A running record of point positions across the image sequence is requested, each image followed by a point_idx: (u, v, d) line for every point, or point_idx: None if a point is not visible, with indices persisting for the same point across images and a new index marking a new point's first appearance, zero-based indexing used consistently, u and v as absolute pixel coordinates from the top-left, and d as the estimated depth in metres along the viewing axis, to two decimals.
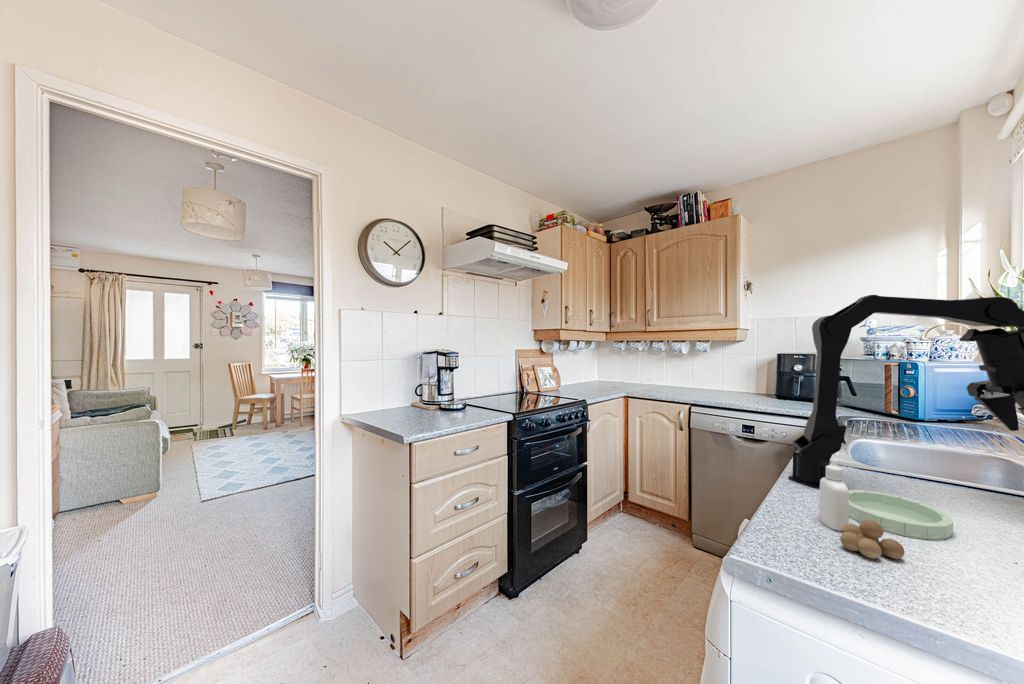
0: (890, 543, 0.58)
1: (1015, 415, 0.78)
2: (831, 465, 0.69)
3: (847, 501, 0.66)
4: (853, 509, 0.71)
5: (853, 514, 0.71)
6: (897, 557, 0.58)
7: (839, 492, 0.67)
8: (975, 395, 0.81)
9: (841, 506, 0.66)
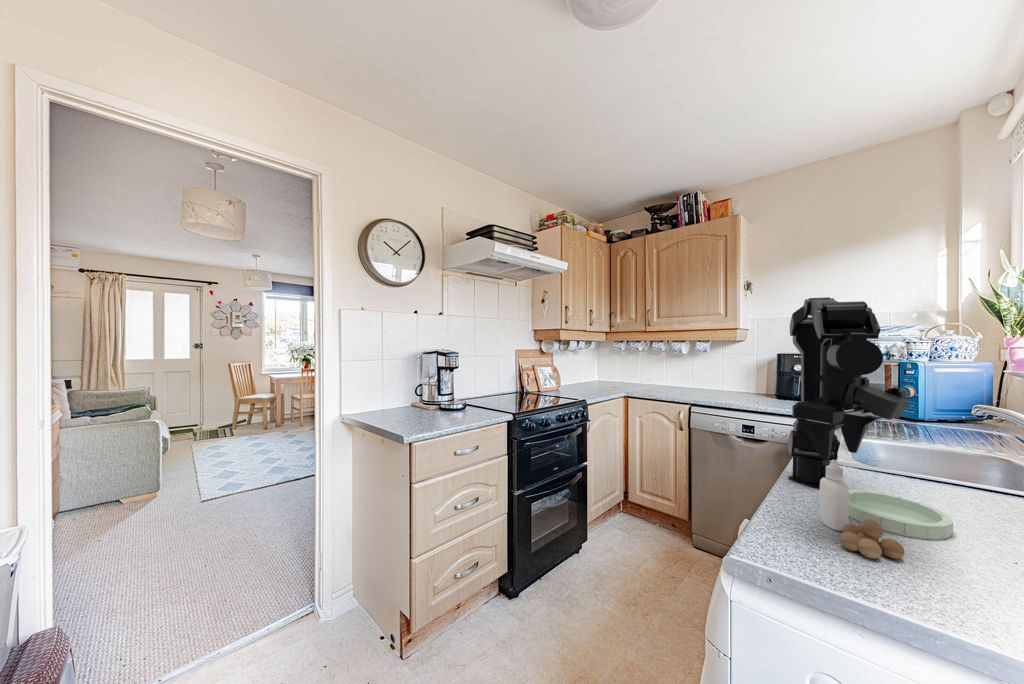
0: (890, 543, 0.58)
1: (859, 437, 0.70)
2: (831, 465, 0.69)
3: (847, 501, 0.66)
4: (853, 509, 0.71)
5: (853, 514, 0.71)
6: (897, 557, 0.58)
7: (839, 492, 0.67)
8: None
9: (841, 506, 0.66)
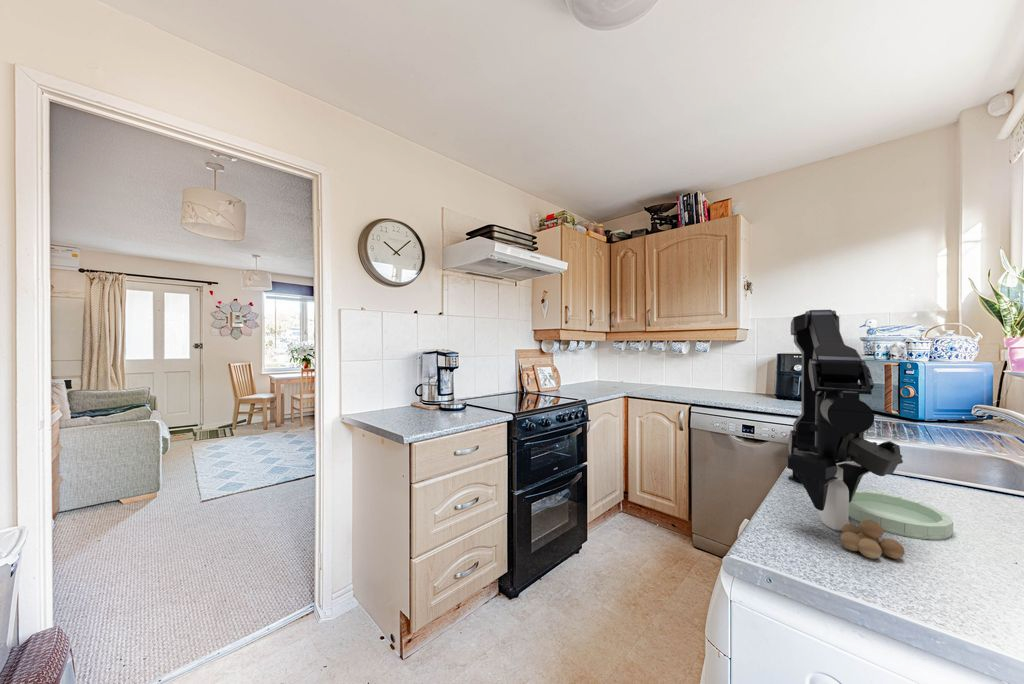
0: (890, 543, 0.58)
1: (853, 487, 0.70)
2: None
3: (847, 501, 0.66)
4: (853, 509, 0.71)
5: (853, 514, 0.71)
6: (897, 557, 0.58)
7: (839, 492, 0.67)
8: None
9: (841, 506, 0.66)
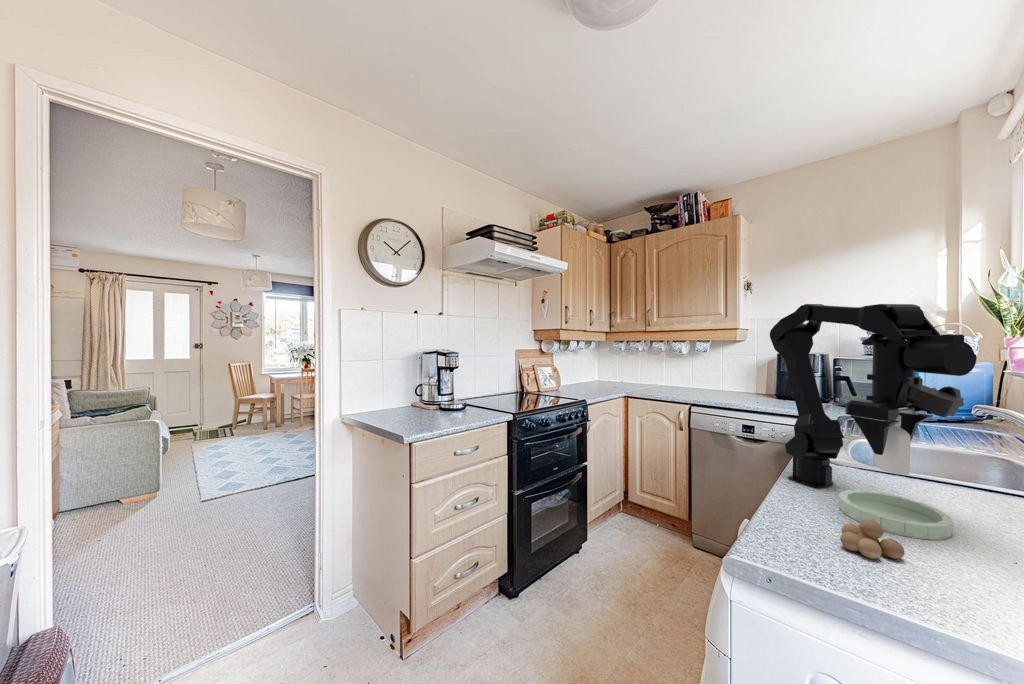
0: (890, 543, 0.58)
1: (909, 434, 0.72)
2: None
3: (909, 445, 0.69)
4: (853, 509, 0.71)
5: (853, 514, 0.71)
6: (897, 557, 0.58)
7: (902, 437, 0.69)
8: None
9: (904, 450, 0.69)
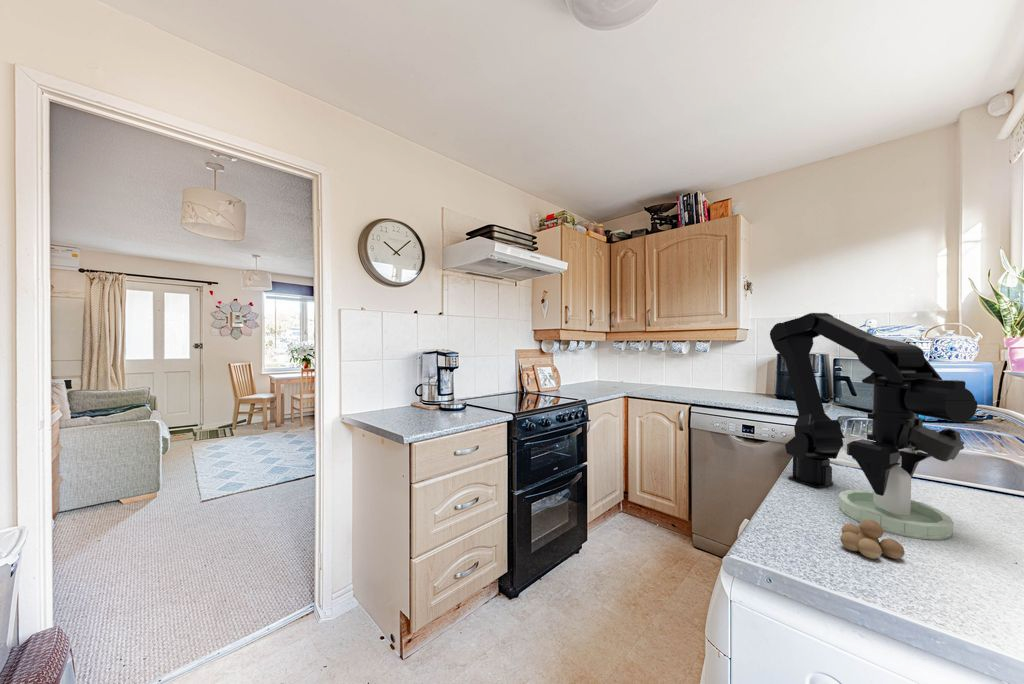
0: (890, 543, 0.58)
1: (909, 473, 0.72)
2: None
3: (910, 486, 0.69)
4: (853, 509, 0.71)
5: (853, 514, 0.71)
6: (897, 557, 0.58)
7: (903, 478, 0.69)
8: None
9: (905, 491, 0.69)
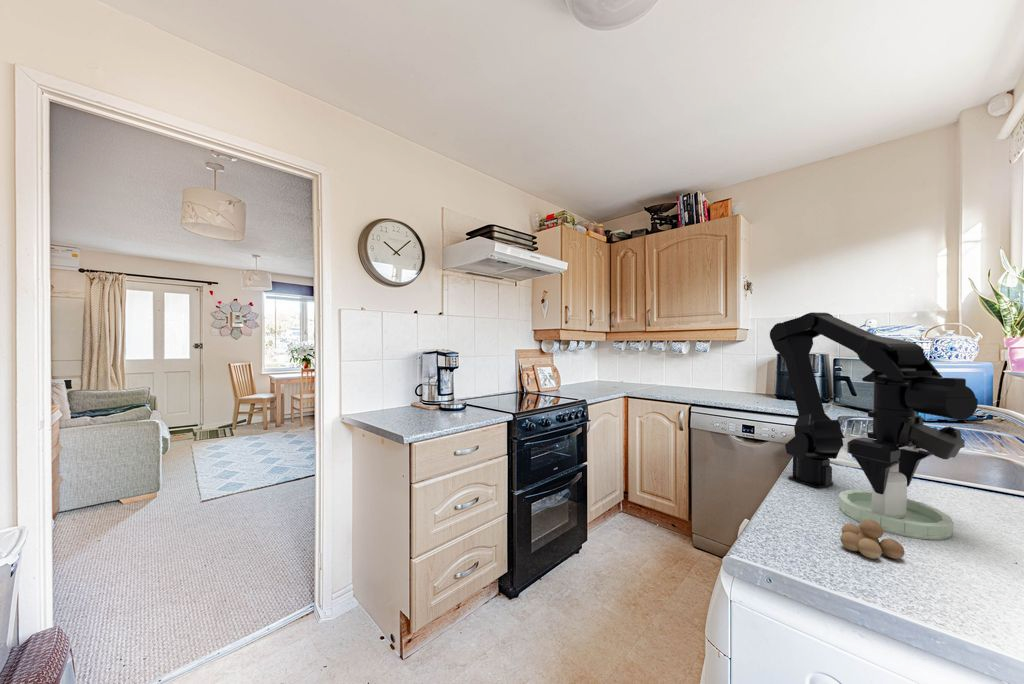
0: (890, 543, 0.58)
1: (911, 472, 0.72)
2: None
3: None
4: (853, 509, 0.71)
5: (853, 514, 0.71)
6: (897, 557, 0.58)
7: None
8: None
9: None
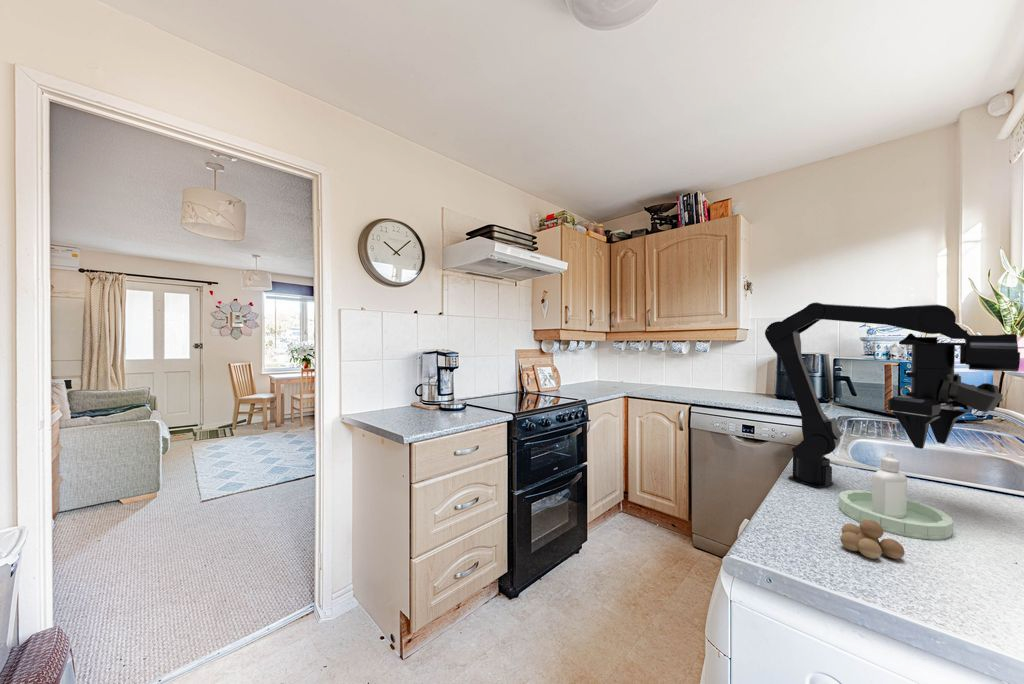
0: (890, 543, 0.58)
1: (948, 429, 0.76)
2: None
3: (882, 488, 0.70)
4: (853, 509, 0.71)
5: (853, 514, 0.71)
6: (897, 557, 0.58)
7: (874, 478, 0.71)
8: None
9: (876, 491, 0.71)
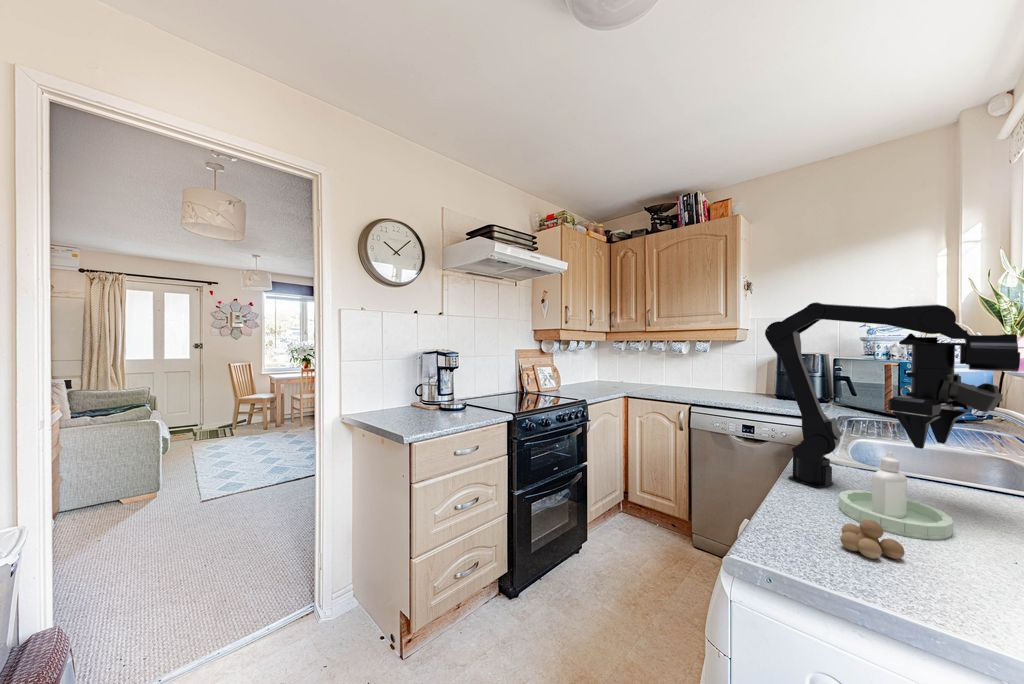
0: (890, 543, 0.58)
1: (948, 429, 0.76)
2: None
3: (882, 488, 0.70)
4: (853, 509, 0.71)
5: (853, 514, 0.71)
6: (897, 557, 0.58)
7: (874, 478, 0.71)
8: None
9: (876, 491, 0.71)
